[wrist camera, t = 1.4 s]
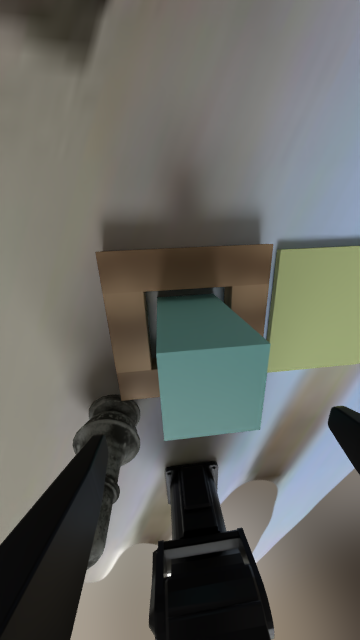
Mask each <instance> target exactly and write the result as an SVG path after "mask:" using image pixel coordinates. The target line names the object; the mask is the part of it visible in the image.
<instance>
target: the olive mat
mask: <svg viewBox="0 0 360 640" xmlns="http://www.w3.org/2000/svg"><path fill="white" fill-rule="evenodd" d="M267 341H268V342H269V343H270V344H271V345H270V353H269V361H268V369H267V373H268V372H278V371H289V370H299V369H309V368H320V367H330V366H341V365H351V364H360V246H344V247H323V248H302V249H281V250H277V255H276V264H275V272H274V281H273V289H272V298H271V307H270V315H269V324H268V332H267Z"/></svg>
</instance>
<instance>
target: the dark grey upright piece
mask: <svg viewBox="0 0 360 640" xmlns="http://www.w3.org/2000/svg"><path fill="white" fill-rule="evenodd" d="M139 418H140V410H139V408H138V406H137V405H136V404H135V402H134V401H132V400H124V401H121V395H108V396H104V397H101V398H100V399H98V400H96V401H95V402H94V403H93V404H92V406H91V408H90V410H89V421H88V422H87V423H86V424H85V425H84V426H83V427H82V428H81V429H80V430H79V431H78V432H77V433H76V435H75V437H74V439H73V448H74V452H75V454H77V453H78V452H79V451H80V450H81V448H82V447H83V446H84V445H85V444H86V442H87V441H88V440H89V439H90V438H91V437H92V436H93V435H97V434H104V435H105V437H106V441H107V445H108V450H109V455H108V463H107V470H106V477H105V484H104V491H103V498H102V505H101V510H100V515H99V519H98V523H97V527H96V532H95V536H94V540H93V544H92V549H91V553H90V557H89V562H88V566H87V569H89V568H90V567H91V566H93V565H94V564H95V563H96V562H97V561H98V559H99V558H100V557H101V555H102V554H103V551H104V548H105V543H106V538H107V532H108V526H109V521H110V515H111V510H112V504H113V503H115V502H116V501H117V499H118V498H119V494H120V489H119V486H118V484H117V482H118V476H119V470H120V467H121V466H122V465H124V464H126V463H128V462H130V461H131V460H132V459H133V458H134V457H135V456H136V455H137V453H138V451H139V448H140V438H139V436H138V434H137V430H136V427H135V426H136V425H137V423H138V422H139Z"/></svg>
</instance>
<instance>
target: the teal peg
mask: <svg viewBox="0 0 360 640" xmlns="http://www.w3.org/2000/svg"><path fill="white" fill-rule="evenodd" d="M270 345H271V344H270V343H269V342H268V341H267V340H266V339H265V338H264V337H262V336H261V335H260V334H259V333H258V332H257V331H256V330H254V329H253V328H252V327H251V326H250V325H249V324H248V323H246V322H245V321H244V320H243V319H242V318H241V317H239V316H238V315H237V314H236V313H235V312H234V311H233V310H231V309H230V308H229V307H228V306H227V305H226V304H225V303H223V302H222V301H221V300H220V299H219V298H218V297H217V296H215V295H214V294H201V295H186V296H170V297H157V340H156V356H157V367H158V378H159V389H160V400H161V411H162V421H163V432H164V441H169V440H177V439H185V438H194V437H202V436H211V435H219V434H227V433H236V432H244V431H253V430H260V426H261V418H262V410H263V402H264V394H265V386H266V378H267V369H268V361H269V353H270Z"/></svg>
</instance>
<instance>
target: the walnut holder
mask: <svg viewBox="0 0 360 640" xmlns="http://www.w3.org/2000/svg"><path fill="white" fill-rule="evenodd" d="M272 251H273V244H255V245H233V246H210V247H188V248H166V249H144V250H122V251H101V252H95V253H96V258H97V264H98V270H99V275H100V281H101V287H102V293H103V298H104V304H105V310H106V315H107V321H108V327H109V333H110V338H111V344H112V350H113V355H114V361H115V367H116V373H117V378H118V384H119V390H120V395H121V401H124V400H134V399H144V398H154V397H160V389H159V378H158V367H157V358H152V354H151V344H150V334H149V324H148V314H147V304H146V295H145V292H146V291H162V290H178V289H195V288H211V287H225V290H224V303H225V304H226V305H227V306H228V307H229V308H230V309H231V310H233V311H234V312H235V313H236V314H237V315H238V316H239V317H241V318H242V319H243V320H244V321H245V322H246V323H248V324H249V325H250V326H251V327H252V328H253V329H254V330H256V331H257V332H258V333H259V334H260V335H261V336H262V337H263V334H264V325H265V315H266V306H267V297H268V288H269V279H270V270H271V260H272Z"/></svg>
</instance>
